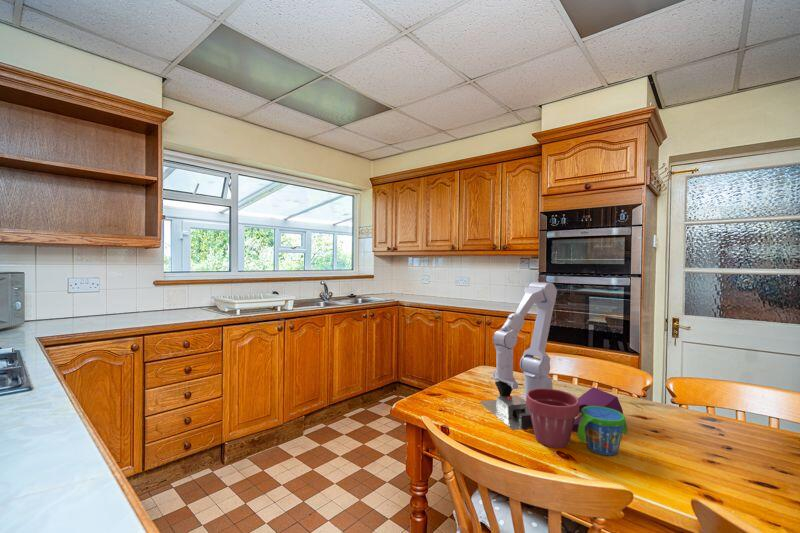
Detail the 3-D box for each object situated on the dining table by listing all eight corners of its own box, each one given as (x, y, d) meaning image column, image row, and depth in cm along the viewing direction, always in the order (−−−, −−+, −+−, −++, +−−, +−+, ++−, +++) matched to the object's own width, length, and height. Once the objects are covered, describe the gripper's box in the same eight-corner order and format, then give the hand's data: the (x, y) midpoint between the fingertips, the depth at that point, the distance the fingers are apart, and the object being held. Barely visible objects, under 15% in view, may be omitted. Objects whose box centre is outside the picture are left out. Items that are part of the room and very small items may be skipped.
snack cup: (611, 437, 108) (611, 402, 108) (642, 455, 97) (642, 417, 97) (565, 443, 104) (564, 408, 104) (592, 463, 94) (592, 423, 94)
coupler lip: (512, 398, 139) (512, 387, 139) (553, 426, 115) (552, 412, 115) (478, 402, 136) (478, 390, 136) (512, 431, 112) (512, 417, 112)
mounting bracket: (584, 452, 111) (626, 419, 116) (575, 429, 110) (617, 396, 114) (562, 438, 120) (601, 408, 125) (553, 416, 119) (593, 387, 124)
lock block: (516, 406, 130) (516, 393, 130) (529, 415, 122) (529, 401, 122) (496, 408, 129) (496, 395, 128) (508, 418, 121) (508, 403, 121)
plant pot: (589, 452, 99) (589, 405, 99) (537, 453, 99) (537, 406, 99) (564, 428, 113) (564, 387, 113) (519, 429, 113) (519, 388, 113)
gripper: (485, 359, 137) (485, 396, 137) (504, 370, 123) (504, 411, 123) (502, 358, 138) (502, 394, 138) (523, 369, 124) (523, 409, 124)
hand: (504, 402), depth 131 cm, fingers closed
